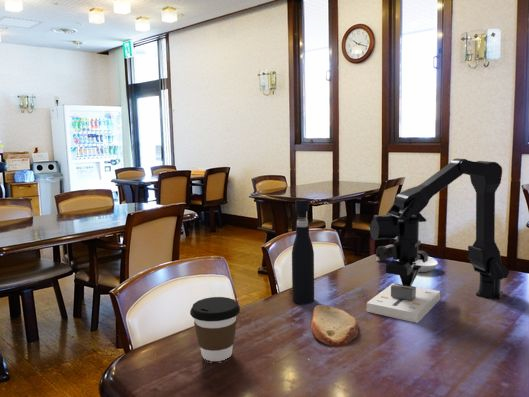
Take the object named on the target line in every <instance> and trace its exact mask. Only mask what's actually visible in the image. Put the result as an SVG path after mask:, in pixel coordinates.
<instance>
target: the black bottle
mask: <svg viewBox="0 0 529 397" xmlns="http://www.w3.org/2000/svg"><path fill="white" fill-rule="evenodd" d="M294 205H295V206H294V207H295V212H296V213H297V220H296V226H295V238H294V242H293V244H292V250H291V287H292V292H291V294H292V296H291V297H292V302H293V303H295V304H299V305H311V304H312V303H314V302H315V252H314V247H313V242H312V240H311V236H310V225H309V221H308V215H307V214H308V212H310V200H309V199H306V198H298V199H295V204H294Z"/></svg>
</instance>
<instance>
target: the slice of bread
mask: <svg viewBox="0 0 529 397" xmlns="http://www.w3.org/2000/svg"><path fill="white" fill-rule="evenodd" d="M357 322H358V321H357V320H356V318H355V317H354V316H353V315H350V314H349V313H348V312H347V311H345V310H343V309H340V308H337V307H335V306H330V305H325V304H318V305H315V307H314V309H313V311H312V315H311V322H310V328H311V329H310V330H311V332H312V333H313V335H314V337H315V338H316V339H317V340H319V341H320V342H321V343H322V344H325V345H327V346H329V347H334V348H336V347H342V346H348V345H349V344H350V342H351V341H353V340H354V339H356V338H357V336H358V334H359V329H358V323H357Z"/></svg>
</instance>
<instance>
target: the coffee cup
mask: <svg viewBox="0 0 529 397" xmlns="http://www.w3.org/2000/svg"><path fill="white" fill-rule="evenodd" d="M240 310H241V306H240V305H239V303H238V302H237V301H236V300H235V299H233V298H230V297H225V296H210V297H205V298H202V299H200V300H197V301H196V302H194V303H193V304H192V307H191V308H190V311H189V313H190V316H191V318H192V319H193V320H194V321H193V324H194V327H195V328H194V330H195V334H196V339H197V342H198V346H199V348H200V353H201V356H202V357H203V360H205V359H206V360H210V361H221V360H225V359H227V358H229V357H230V358H231V357H232V353H233V346H234V344H235V337H236V328H237V321H238V317H237V316H238V315H239V314H240ZM230 358H229V359H230ZM206 360H205V361H206Z"/></svg>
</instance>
